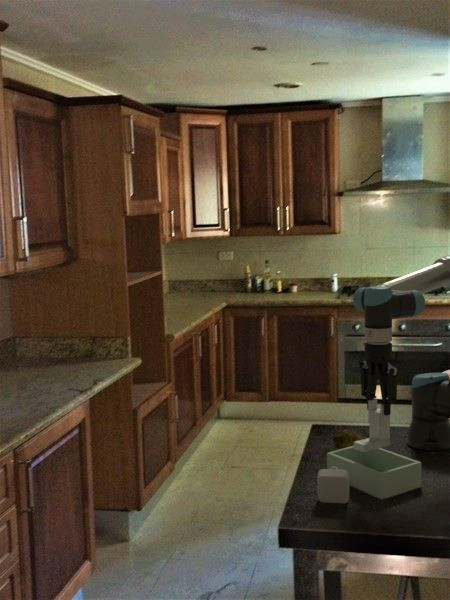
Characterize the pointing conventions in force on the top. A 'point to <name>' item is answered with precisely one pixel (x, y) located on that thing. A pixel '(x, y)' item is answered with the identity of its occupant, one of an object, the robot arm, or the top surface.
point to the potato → (346, 439)
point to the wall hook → (333, 485)
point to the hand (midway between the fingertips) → (378, 423)
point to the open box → (377, 471)
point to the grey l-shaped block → (374, 434)
